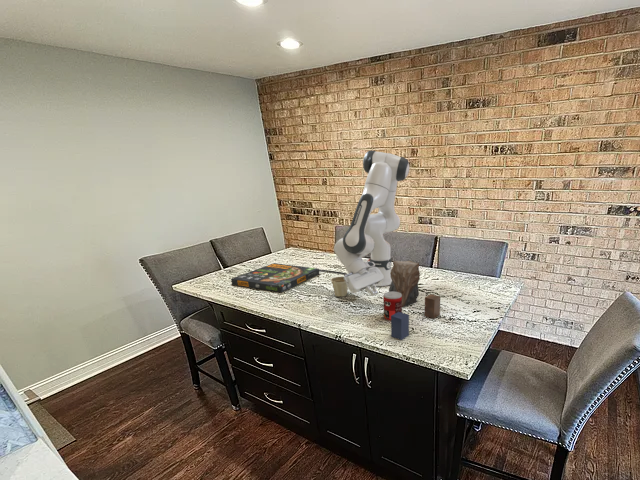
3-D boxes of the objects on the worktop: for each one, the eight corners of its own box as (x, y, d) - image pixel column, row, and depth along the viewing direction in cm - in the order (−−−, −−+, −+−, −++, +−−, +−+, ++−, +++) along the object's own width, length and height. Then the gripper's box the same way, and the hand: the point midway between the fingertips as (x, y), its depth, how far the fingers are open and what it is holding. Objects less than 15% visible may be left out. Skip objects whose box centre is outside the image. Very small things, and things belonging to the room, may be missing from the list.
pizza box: (232, 284, 192) (230, 278, 191) (274, 268, 222) (273, 263, 221) (281, 292, 180) (280, 286, 178) (319, 274, 210) (318, 268, 208)
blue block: (391, 336, 133) (390, 315, 130) (398, 331, 137) (398, 311, 133) (401, 340, 130) (401, 319, 127) (408, 335, 134) (409, 314, 131)
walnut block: (424, 316, 151) (424, 297, 147) (430, 312, 155) (430, 294, 151) (433, 318, 148) (434, 299, 145) (439, 315, 152) (440, 296, 148)
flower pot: (353, 292, 179) (352, 277, 175) (345, 299, 170) (343, 283, 167) (337, 291, 181) (336, 275, 178) (328, 297, 173) (327, 281, 170)
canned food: (383, 314, 153) (383, 291, 149) (401, 313, 154) (401, 291, 149) (384, 321, 146) (383, 297, 142) (402, 320, 146) (402, 297, 142)
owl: (387, 299, 170) (387, 261, 162) (408, 294, 176) (409, 257, 168) (401, 307, 160) (401, 267, 152) (422, 302, 166) (423, 263, 158)
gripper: (344, 271, 144) (363, 297, 142) (376, 261, 159) (392, 284, 157) (338, 279, 148) (356, 305, 146) (369, 268, 163) (385, 291, 162)
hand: (375, 294), depth 152 cm, fingers closed
